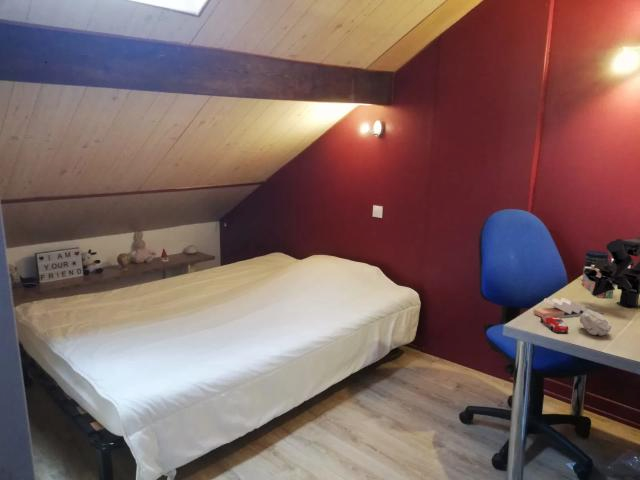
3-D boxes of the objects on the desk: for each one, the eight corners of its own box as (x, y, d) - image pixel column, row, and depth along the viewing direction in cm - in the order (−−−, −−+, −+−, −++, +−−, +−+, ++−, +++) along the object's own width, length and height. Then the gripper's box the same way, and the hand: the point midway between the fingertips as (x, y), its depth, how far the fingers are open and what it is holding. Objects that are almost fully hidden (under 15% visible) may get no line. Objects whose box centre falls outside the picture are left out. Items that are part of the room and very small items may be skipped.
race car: (538, 321, 178) (539, 311, 178) (552, 321, 178) (554, 311, 178) (554, 334, 166) (555, 323, 165) (570, 335, 165) (571, 324, 165)
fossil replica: (594, 326, 174) (570, 330, 172) (594, 304, 173) (569, 308, 171) (620, 336, 162) (595, 340, 160) (620, 313, 161) (595, 316, 159)
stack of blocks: (581, 285, 230) (584, 260, 227) (595, 286, 228) (598, 261, 226) (596, 297, 209) (600, 270, 207) (612, 299, 208) (616, 271, 205)
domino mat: (586, 307, 195) (587, 306, 195) (603, 313, 187) (603, 312, 187) (543, 311, 188) (543, 310, 188) (558, 318, 181) (558, 317, 181)
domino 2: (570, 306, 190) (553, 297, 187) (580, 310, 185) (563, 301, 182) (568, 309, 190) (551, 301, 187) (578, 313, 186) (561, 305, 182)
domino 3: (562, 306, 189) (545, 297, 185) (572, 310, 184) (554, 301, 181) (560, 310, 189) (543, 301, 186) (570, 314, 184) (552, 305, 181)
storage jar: (579, 282, 234) (583, 252, 231) (584, 278, 241) (588, 249, 239) (602, 286, 228) (607, 255, 225) (606, 282, 235) (610, 252, 232)
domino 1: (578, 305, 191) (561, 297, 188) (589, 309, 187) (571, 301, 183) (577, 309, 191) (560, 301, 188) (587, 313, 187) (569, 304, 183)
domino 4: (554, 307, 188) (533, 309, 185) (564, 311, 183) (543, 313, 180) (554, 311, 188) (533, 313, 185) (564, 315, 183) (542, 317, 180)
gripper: (589, 248, 197) (564, 276, 196) (629, 258, 179) (603, 289, 178) (602, 265, 200) (578, 293, 199) (643, 277, 183) (617, 307, 182)
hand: (593, 295), depth 190 cm, fingers closed
